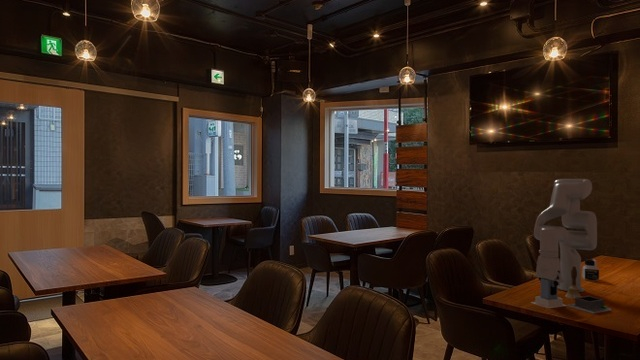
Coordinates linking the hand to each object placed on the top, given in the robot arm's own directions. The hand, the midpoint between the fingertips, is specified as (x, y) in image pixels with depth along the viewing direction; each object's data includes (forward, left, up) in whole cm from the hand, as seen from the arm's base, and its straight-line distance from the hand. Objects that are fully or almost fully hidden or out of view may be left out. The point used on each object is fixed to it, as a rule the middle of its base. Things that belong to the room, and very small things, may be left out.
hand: (549, 293), depth 200 cm
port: (+12, +11, -6) cm, 17 cm away
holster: (0, 0, -6) cm, 6 cm away
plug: (0, 0, -4) cm, 4 cm away
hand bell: (-4, +22, -6) cm, 23 cm away
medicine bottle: (-29, +70, -6) cm, 76 cm away
